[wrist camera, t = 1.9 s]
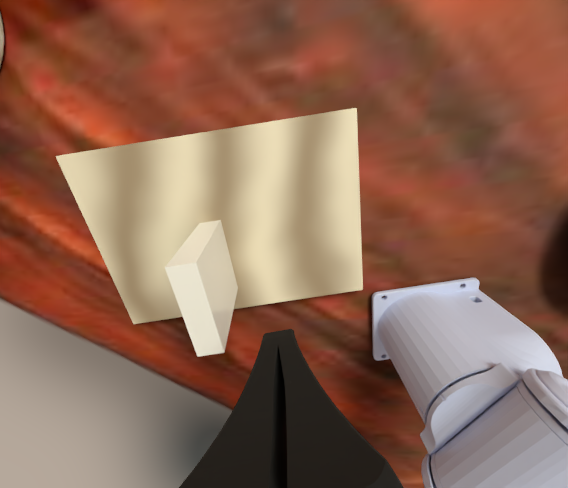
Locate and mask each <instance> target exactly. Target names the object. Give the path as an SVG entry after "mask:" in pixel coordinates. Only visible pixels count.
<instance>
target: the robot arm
mask: <svg viewBox="0 0 568 488" xmlns="http://www.w3.org/2000/svg"><path fill="white" fill-rule="evenodd" d="M461 284H462V286H460V285H461ZM382 296H385V297H384V298H382ZM372 337H373V357H374V359H375V360H377V361H379V360H386V359H391V361H392V363H393V365H394V367H395V368H396V370H397V372H398V374H399V376H400V378H401V380H402V382H403V384H404V385H405V387H406V389H407V391H408V393H409V395H410V397H411V399H412V401H413V403H414V404H415V406H416V408H417V410H418V412H419V414H420V416H421V418H422V420H423V421H424V423H425V425H426V427H425V429H424V430H423V431H422V432H421V433H420V437H421V439H422V441H423V443H424V445H425V447H426V449H427V451H428V454H427V455H426V456H425V457H424V459H423V461H422V478H423V483H424V487H425V488H568V380H567V379H565V378H563V376H562V371H561V368H560V366H559V363H558V361H557V359H556V358H555V356H554V354H553V353H552V351H551V350H550V348H549V347H548V346H547V344H546V343H545V342H544V341H543V340H542V339H541V338H540V337H539V336H538V335H537V334H536V333H535V332H534V331H533V330H532V329H530V328H529V327H528V326H526V325H525V324H524V323H522V322H521V321H520V320H518V319H517V318H516V317H514V316H513V315H512V314H510V313H509V312H508V311H506V310H505V309H504V308H502V307H501V306H500V305H498V304H497V303H496V302H495V301H493V300H492V299H491V298H489V297H488V296H487V295H485V294H484V293H483V292H481V291H480V290H479V281H478V280H477V279H476V278H467V279H460V280H454V281H447V282H440V283H434V284H427V285H420V286H414V287H407V288H400V289H394V290H387V291H380V292H376V293H374V294H373V295H372ZM179 488H403V486H402V484H401V482H400V481H399V479H398V477H397V476H396V474H395V473H394V471H393V470H392V468H391V466H390V465H389V463H388V462H387V460H386V459H385V458H384V457H383V456H382V455H381V454H380V453H379V452H378V451H376V450H375V449H374V448H373V447H372V446H371V445H370V444H369V443H368V442H367V441H366V440H365V439H364V437H363V436H362V435H361V434H360V433H359V432H358V431H357V430H356V429H355V428H354V427H353V426H352V425H351V423H350V422H349V421H348V420H347V419H346V418H345V416H344V415H343V414H342V413H341V412H340V411H339V409H338V408H337V407H336V406H335V404H334V403H333V402H332V401H331V399H330V398H329V397H328V395H327V394H326V392H325V391H324V390H323V388H322V387H321V385H320V384H319V382H318V381H317V379H316V378H315V376H314V374H313V373H312V371H311V370H310V368H309V366H308V364H307V362H306V361H305V359H304V357H303V355H302V353H301V351H300V349H299V346H298V344H297V341H296V338H295V335H294V331H293V330H292V329H288V330H282V331H277V332H271V333H265V334H264V336H263V339H262V343H261V347H260V350H259V353H258V356H257V359H256V361H255V364H254V367H253V369H252V372H251V374H250V377H249V379H248V381H247V383H246V385H245V388H244V390H243V392H242V394H241V396H240V398H239V400H238V402H237V404H236V406H235V407H234V409H233V411H232V413H231V415H230V417H229V418H228V420H227V421H226V423H225V425H224V426H223V428H222V430H221V431H220V433H219V435H218V436H217V438H216V439H215V440H214V442H213V443H212V445H211V446H210V448H209V449H208V450H207V452H206V453H205V455H204V456H203V457H202V459H201V460H200V462H199V463H198V464H197V466H196V467H195V468H194V470H193V471H192V472H191V473H190V475H189V476H188V477H187V479H186V480H185V481H184V482H183V483H182V485H181V486H180V487H179Z"/></svg>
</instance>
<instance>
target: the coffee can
mask: <svg viewBox="0 0 568 488" xmlns="http://www.w3.org/2000/svg"><path fill="white" fill-rule="evenodd" d="M3 54H4V31H3V23H2V18H1V13H0V67H1V62H2V57H3Z"/></svg>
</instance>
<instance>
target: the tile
mask: <svg viewBox="0 0 568 488" xmlns="http://www.w3.org/2000/svg"><path fill="white" fill-rule="evenodd" d="M165 270H166V272H167V275H168V278H169V281H170V283H171V286H172V289H173V291H174V294H175V297H176V300H177V302H178V305H179V308H180V310H181V313H182V316H183V319H184V321H185V324H186V327H187V329H188V332H189V335H190V338H191V340H192V343H193V346H194V348H195V351H196V354H197V357H199V356H206V355H212V354H219V353H224V352H225V347H226V342H227V338H228V333H229V328H230V324H231V319H232V314H233V309H234V305H235V300H236V295H237V290H238V286H237V282H236V278H235V274H234V270H233V266H232V262H231V259H230V255H229V251H228V247H227V243H226V239H225V235H224V231H223V227H222V223H221V220H217V221H210V222H204V223H199V224H198V226H197V227H196V228H195V230H194V231H193V232H192V233H191V235H190V236H189V237H188V238H187V240H186V241H185V242H184V244H183V245H182V246H181V247H180V249H179V250H178V251H177V252H176V254H175V255H174V256H173V258H172V259H171V260H170V261H169V263H168V264H167V265H166V266H165Z"/></svg>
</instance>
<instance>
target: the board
mask: <svg viewBox="0 0 568 488" xmlns="http://www.w3.org/2000/svg"><path fill="white" fill-rule="evenodd" d="M56 158H57V161H58V163H59V165H60V167H61V169H62V171H63V173H64V176H65V178H66V180H67V182H68V184H69V186H70V188H71V191H72V193H73V195H74V197H75V199H76V201H77V204H78V206H79V208H80V210H81V212H82V214H83V216H84V219H85V221H86V223H87V225H88V227H89V229H90V231H91V234H92V236H93V238H94V240H95V242H96V244H97V246H98V249H99V251H100V253H101V255H102V257H103V259H104V262H105V264H106V266H107V268H108V270H109V272H110V274H111V277H112V279H113V281H114V283H115V285H116V287H117V289H118V292H119V294H120V296H121V298H122V300H123V302H124V304H125V307H126V309H127V311H128V313H129V315H130V317H131V319H132V322H133V324H138V323H145V322H151V321H158V320H164V319H171V318H178V317H183V316H182V313H181V310H180V308H179V305H178V302H177V300H176V297H175V294H174V291H173V289H172V286H171V283H170V281H169V278H168V275H167V272H166V270H165V266H166V265H167V264H168V263H169V261H170V260H171V259H172V258H173V256H174V255H175V254H176V252H177V251H178V250H179V249H180V247H181V246H182V245H183V244H184V242H185V241H186V240H187V238H188V237H189V236H190V235H191V233H192V232H193V231H194V230H195V228H196V227H197V226H198V224H199V223H204V222H210V221H217V220H221V223H222V227H223V231H224V235H225V239H226V243H227V247H228V251H229V255H230V259H231V262H232V266H233V270H234V274H235V278H236V282H237V286H238V290H237V295H236V300H235V305H234V309H238V308H244V307H251V306H258V305H264V304H271V303H278V302H284V301H291V300H298V299H304V298H311V297H317V296H324V295H331V294H337V293H344V292H351V291H357V290H363V277H362V248H361V219H360V189H359V160H358V131H357V108H352V109H346V110H340V111H334V112H327V113H321V114H315V115H309V116H302V117H296V118H290V119H284V120H278V121H271V122H265V123H259V124H253V125H246V126H240V127H234V128H228V129H222V130H215V131H209V132H203V133H197V134H191V135H184V136H178V137H172V138H166V139H159V140H153V141H147V142H141V143H135V144H128V145H122V146H116V147H110V148H103V149H97V150H91V151H85V152H79V153H72V154H66V155H60V156H56Z"/></svg>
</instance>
